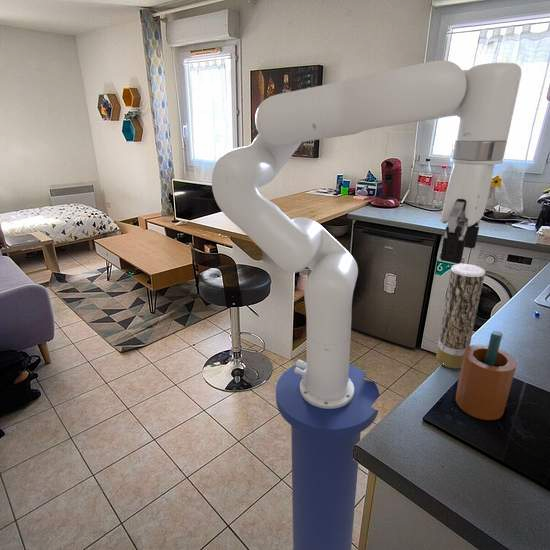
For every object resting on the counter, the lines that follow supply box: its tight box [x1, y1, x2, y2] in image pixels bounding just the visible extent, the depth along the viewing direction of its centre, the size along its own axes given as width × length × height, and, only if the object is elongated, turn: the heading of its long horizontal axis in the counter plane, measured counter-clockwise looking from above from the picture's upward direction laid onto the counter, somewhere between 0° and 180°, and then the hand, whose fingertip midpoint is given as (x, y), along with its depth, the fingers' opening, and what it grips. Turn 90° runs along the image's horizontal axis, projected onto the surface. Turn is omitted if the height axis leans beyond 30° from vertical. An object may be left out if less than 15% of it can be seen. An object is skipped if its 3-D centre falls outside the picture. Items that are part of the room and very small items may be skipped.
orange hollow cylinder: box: [455, 344, 518, 421], centre depth 75 cm, size 9×9×12 cm
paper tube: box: [435, 263, 486, 370], centre depth 86 cm, size 7×7×25 cm
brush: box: [484, 330, 503, 366], centre depth 73 cm, size 4×4×17 cm
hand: (458, 253), depth 65 cm, fingers open, 9 cm apart
